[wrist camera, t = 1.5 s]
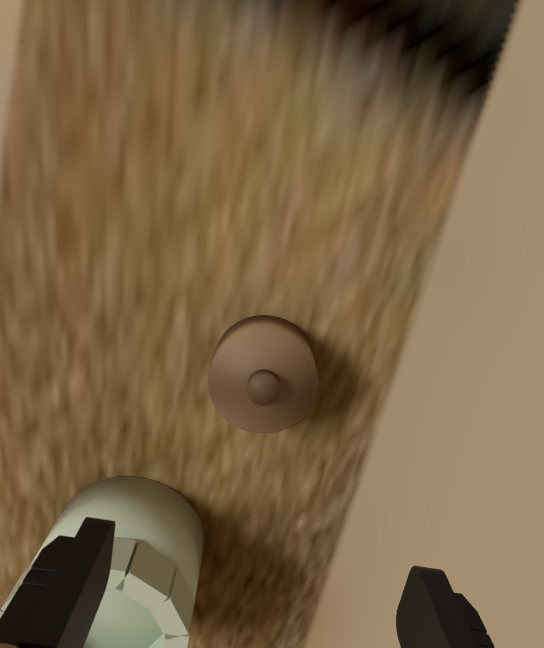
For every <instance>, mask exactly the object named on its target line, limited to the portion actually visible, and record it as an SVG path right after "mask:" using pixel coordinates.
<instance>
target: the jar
mask: <svg viewBox="0 0 544 648" xmlns="http://www.w3.org/2000/svg"><path fill="white" fill-rule="evenodd" d="M86 517H91V518H98V519H105V520H112V521H115V534H114V543H113V552H112V561H111V569H110V575H109V579H108V583H107V587H106V590H105V593H104V596H103V598H102V601H101V603H100V606H99V608H98V611H97V614H96V616H95V619H94V621H93V624H92V626H91V629H90V632H89V634H88V637H87V639H86V642H85V644H84V647H83V648H187V645H188V640H189V634H190V628H191V622H192V616H193V610H194V604H195V597H196V592H197V586H198V580H199V574H200V568H201V562H202V556H203V550H204V531H203V527H202V524H201V521H200V519H199V517H198V515H197V513H196V511H195V510H194V508H193V507H192V506H191V505H190V503H189V502H188V501H187V500H186V499H185V498H184V497H183V496H181V495H180V494H179V493H177V492H176V491H175V490H173V489H171V488H170V487H168V486H166V485H164V484H162V483H159V482H156V481H153V480H150V479H146V478H141V477H133V476H119V477H111V478H107V479H103V480H100V481H97V482H94V483H92V484H90V485H88V486H87V487H85V488H83V489H82V490H81V491H79V492H78V493H77V494H76V495H75V496H74V497H73V498H72V499H71V500H70V501H69V503H68V504H67V505H66V507H65V509H64V510H63V512H62V514H61V515H60V517H59V519H58V520H57V522H56V524H55V525H54V527H53V528H52V530H51V532H50V533H49V535H48V537H47V538H46V540H45V542H44V543H43V545H42V547H41V548H40V550H39V552H38V553H37V555H36V557H35V558H34V560H33V561H32V563H31V565H30V566H29V567H28V569H27V570H26V571H25V572H24V573H23V574H22V575H21V577H20V579H19V580H18V582H17V584H16V585H15V587H14V589H13V590H12V592H11V593H10V595H9V597H8V598H7V600H6V602H5V603H4V605H3V606H2V608H1V611H0V618H1V616H2V614H3V613H4V611H5V610H6V608H7V606H8V605H9V603H10V601H11V600H12V598H13V596H14V595H15V593H16V591H17V590H18V588H19V586H20V585H22V582H23V580H24V578H25V576H26V575H27V573H28V572H29V570H31V567H32V565H33V563H34V562H35V560H36V558H37V557H38V555H39V553H40V552H41V550H42V549H43V548H44V547H45V546H47V545H48V544H49V543H50V542H52V541H53V540H54V539H55V538H57V537H58V536H59V535H62V536H69V537H75V536H76V534H77V532H78V530H79V528H80V526H81V524H82V523H83V521H84V519H85V518H86Z"/></svg>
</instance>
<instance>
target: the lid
mask: <svg viewBox="0 0 544 648" xmlns="http://www.w3.org/2000/svg"><path fill="white" fill-rule="evenodd" d="M208 385H209V392H210V396H211V399H212V402H213V404H214V406H215V408H216V409H217V410H218V412H219V413H220V414H221V415H222V416H223V417H224V418H225V419H226V420H227V421H228V422H230V423H231V424H233V425H234V426H236V427H238V428H240V429H243V430H246V431H249V432H254V433H273V432H278V431H282V430H284V429H287V428H289V427H291V426H293V425H295V424H296V423H298V422H299V421H300V420H301V419H302V418H304V417H305V416H306V414H307V413H308V412H309V411H310V409H311V408H312V406H313V404H314V402H315V400H316V397H317V393H318V387H319V378H318V372H317V368H316V364H315V360H314V356H313V353H312V349H311V346H310V344H309V341H308V340H307V338H306V336H305V335H304V334H303V333H302V331H301V330H300V329H298V328H297V327H296V326H295V325H293V324H292V323H290V322H289V321H287V320H284V319H282V318H279V317H275V316H268V315H259V316H253V317H249V318H246V319H243V320H241V321H239V322H237V323H236V324H234V325H233V326H232V327H230V328H229V329H228V330H227V331H226V332H225V333H224V335H223V336H222V337H221V339H220V341H219V343H218V345H217V348H216V351H215V355H214V358H213V362H212V365H211V368H210V373H209V380H208Z"/></svg>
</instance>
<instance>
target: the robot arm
mask: <svg viewBox="0 0 544 648" xmlns="http://www.w3.org/2000/svg"><path fill="white" fill-rule="evenodd" d="M114 534H115V521H112V520H105V519H98V518H91V517H86V518H85V519H84V521H83V523H82V524H81V526H80V528H79V530H78V532H77V534H76V536H75V537H69V536H62V535H59V536H58V537H57V538H55V539H54V540H53V541H52V542H50V543H49V544H48V545H47V546H45V547H44V548H43V549H42V550H41V552H40V553H39V555H38V557H37V558H36V560H35V562H34V563H33V565H32V567H31V570H29V572H28V573H27V575H26V576H25V578H24V580H23V582H22V585H20V586H19V588H18V590H17V591H16V593H15V595H14V596H13V598H12V600H11V601H10V603H9V605H8V606H7V608H6V610H5V611H4V613H3V614H2V616H1V618H0V648H83V647H84V644H85V642H86V639H87V637H88V634H89V632H90V629H91V626H92V624H93V621H94V619H95V616H96V614H97V611H98V608H99V606H100V603H101V601H102V598H103V596H104V593H105V590H106V587H107V583H108V579H109V575H110V569H111V561H112V552H113V543H114ZM396 628H397V635H398V639H399V642H400V646H401V648H494V645H493V643H492V641H491V639H490V637H489V635H487V630H486V628H485V626H484V624H483V622H482V620H481V618H480V616H479V614H478V612H477V611H476V610H475V608H474V607H473V606H472V605H471V604H470V603H469V602H468V601H467V599H466V598H465V597H464V596H463V595H462V594H459V593H454V592H453V590H452V588H451V586H450V583H449V581H448V579H447V577H446V575H445V573H444V572H443V571H442V570H440V569H433V568H426V567H419V566H413V567H412V568H411V570H410V573H409V576H408V579H407V582H406V585H405V588H404V591H403V594H402V597H401V600H400V603H399V606H398V609H397V615H396Z"/></svg>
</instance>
